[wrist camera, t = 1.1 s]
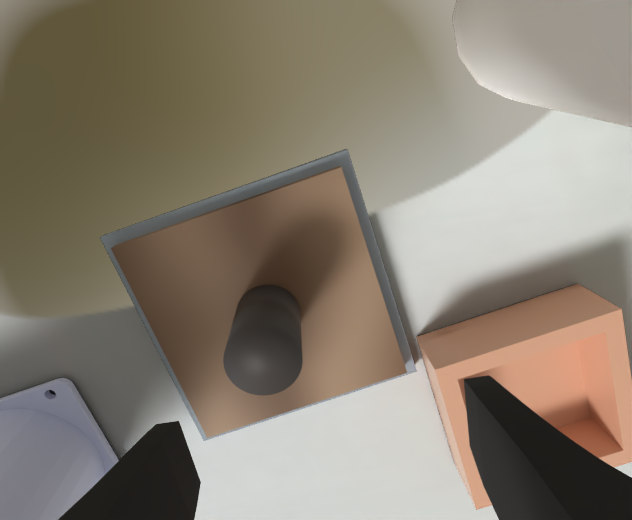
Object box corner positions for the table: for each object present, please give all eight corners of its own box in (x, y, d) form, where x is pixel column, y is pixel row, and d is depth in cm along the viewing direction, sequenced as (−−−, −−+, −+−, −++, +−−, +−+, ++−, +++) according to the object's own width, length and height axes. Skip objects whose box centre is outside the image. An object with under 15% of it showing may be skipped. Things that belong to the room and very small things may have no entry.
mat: (205, 434, 23) (203, 440, 22) (104, 234, 20) (99, 237, 19) (414, 365, 22) (416, 371, 22) (346, 148, 19) (347, 149, 19)
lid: (209, 429, 22) (189, 506, 18) (116, 244, 19) (64, 282, 15) (404, 366, 22) (432, 428, 17) (339, 165, 19) (354, 180, 14)
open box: (454, 463, 24) (476, 509, 21) (416, 337, 22) (434, 370, 19) (600, 417, 24) (642, 458, 21) (577, 283, 21) (621, 309, 19)
